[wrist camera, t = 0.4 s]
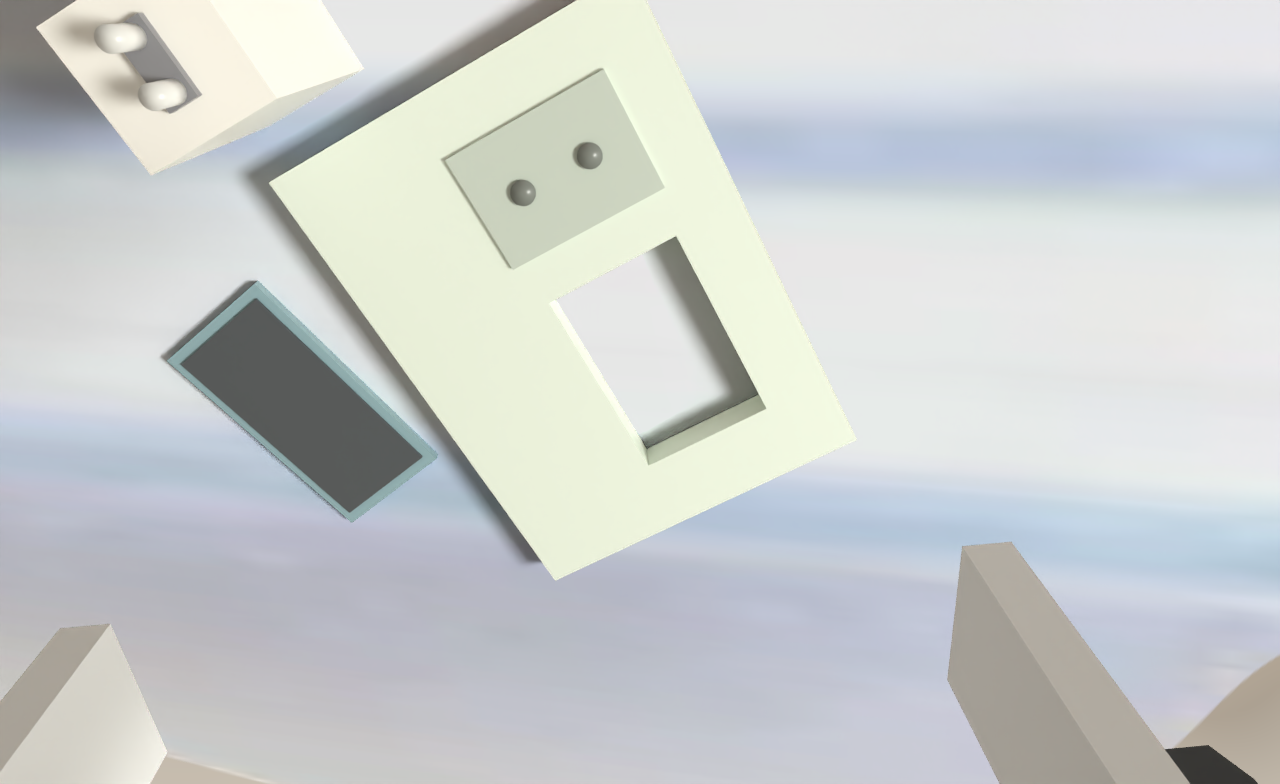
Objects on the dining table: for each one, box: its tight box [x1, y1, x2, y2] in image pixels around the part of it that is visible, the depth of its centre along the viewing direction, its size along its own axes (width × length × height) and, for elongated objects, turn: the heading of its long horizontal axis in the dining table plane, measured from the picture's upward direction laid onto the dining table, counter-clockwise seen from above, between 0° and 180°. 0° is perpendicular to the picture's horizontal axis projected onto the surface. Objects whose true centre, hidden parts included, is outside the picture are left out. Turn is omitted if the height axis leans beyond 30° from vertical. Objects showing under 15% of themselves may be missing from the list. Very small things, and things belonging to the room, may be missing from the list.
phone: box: [167, 281, 438, 522], centre depth 39 cm, size 11×6×1 cm, turn 38°
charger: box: [36, 0, 364, 175], centre depth 27 cm, size 4×4×12 cm
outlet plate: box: [269, 0, 857, 581], centre depth 37 cm, size 22×16×2 cm
